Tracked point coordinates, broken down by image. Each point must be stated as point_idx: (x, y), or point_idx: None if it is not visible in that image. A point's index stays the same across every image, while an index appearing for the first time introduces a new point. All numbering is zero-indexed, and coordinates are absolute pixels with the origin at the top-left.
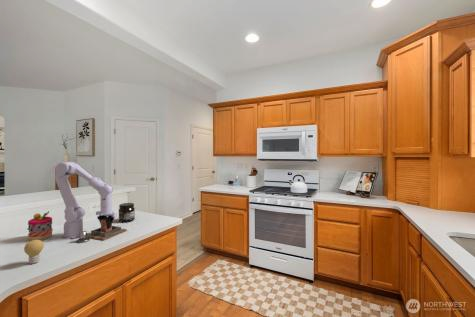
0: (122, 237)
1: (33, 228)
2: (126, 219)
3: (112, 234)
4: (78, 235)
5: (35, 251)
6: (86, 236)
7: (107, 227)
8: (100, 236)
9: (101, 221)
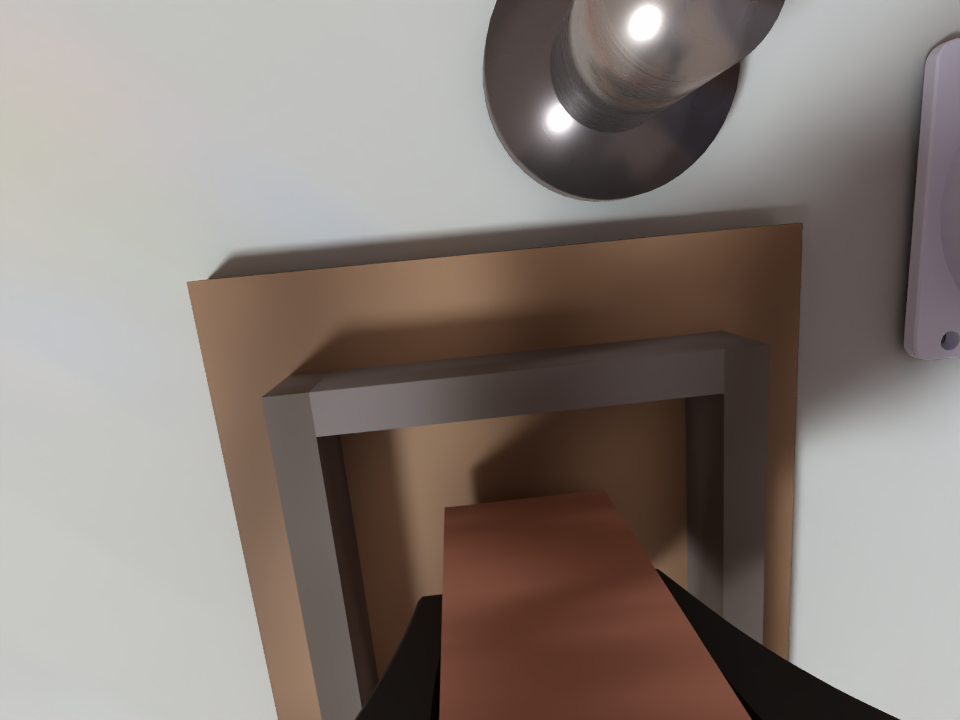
0: (35, 552)
1: None
2: None
3: (274, 526)
4: (948, 180)
5: None
6: (731, 230)
7: (433, 608)
8: (398, 340)
9: (691, 691)
